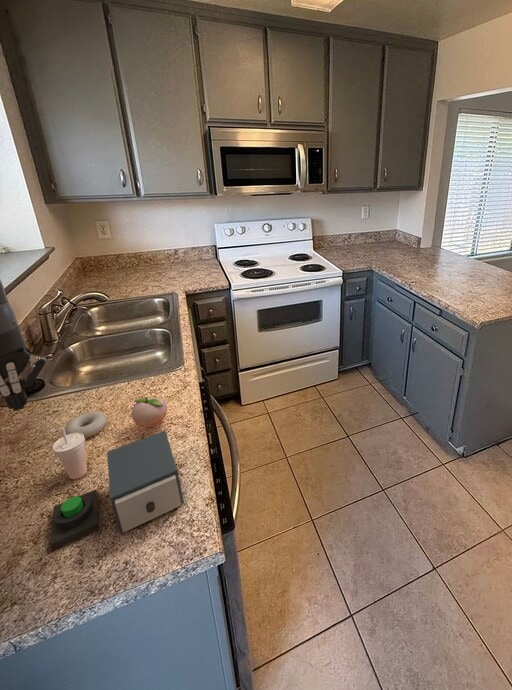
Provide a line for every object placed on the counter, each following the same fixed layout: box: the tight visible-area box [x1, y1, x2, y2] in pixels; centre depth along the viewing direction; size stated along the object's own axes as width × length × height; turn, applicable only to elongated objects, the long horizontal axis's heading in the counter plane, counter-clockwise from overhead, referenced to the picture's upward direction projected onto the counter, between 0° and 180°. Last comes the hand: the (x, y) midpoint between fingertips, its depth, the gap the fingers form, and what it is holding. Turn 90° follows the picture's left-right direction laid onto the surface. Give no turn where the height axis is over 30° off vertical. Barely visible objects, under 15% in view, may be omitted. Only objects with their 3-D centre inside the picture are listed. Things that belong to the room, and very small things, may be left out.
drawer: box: [115, 475, 182, 533], centre depth 79 cm, size 15×11×8 cm
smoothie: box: [51, 427, 88, 480], centre depth 86 cm, size 6×6×14 cm
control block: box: [49, 489, 100, 551], centre depth 76 cm, size 10×8×4 cm
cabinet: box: [106, 430, 184, 534], centre depth 81 cm, size 15×13×10 cm
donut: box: [65, 411, 107, 439], centre depth 103 cm, size 10×4×10 cm
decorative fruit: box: [131, 396, 168, 428], centre depth 102 cm, size 9×8×10 cm
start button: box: [61, 495, 83, 517], centre depth 75 cm, size 4×4×2 cm
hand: (19, 407), depth 70 cm, fingers closed
